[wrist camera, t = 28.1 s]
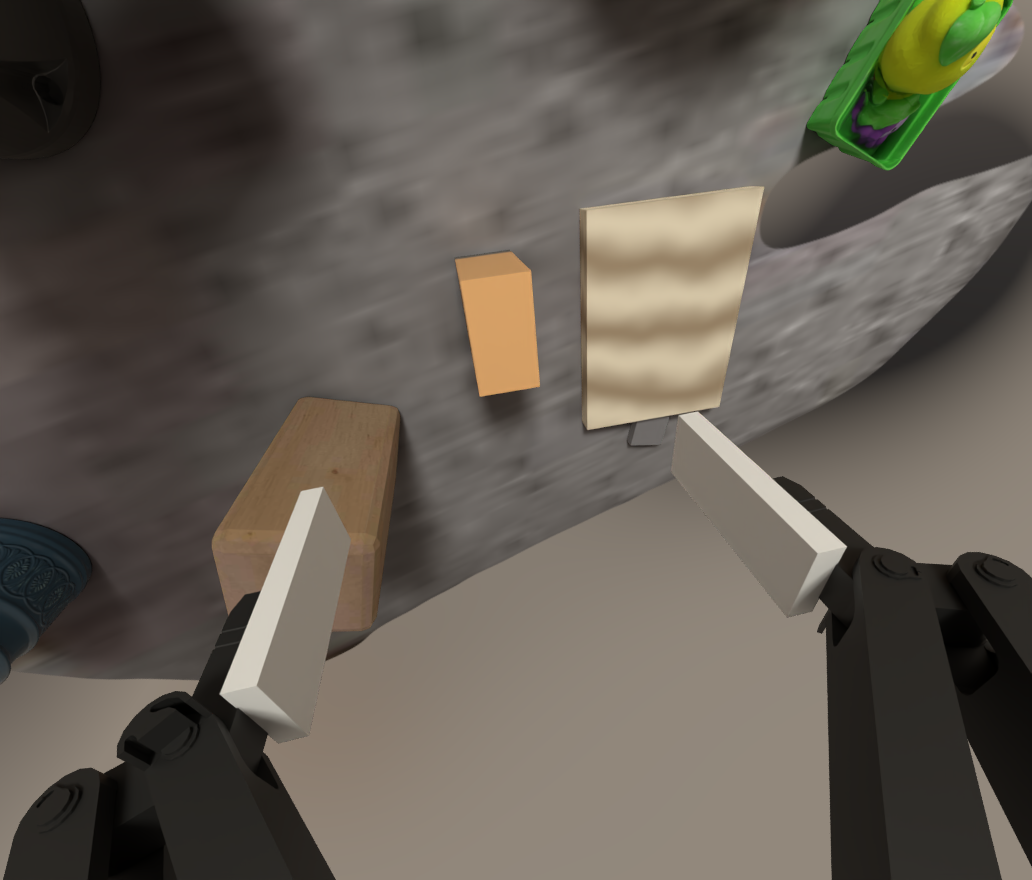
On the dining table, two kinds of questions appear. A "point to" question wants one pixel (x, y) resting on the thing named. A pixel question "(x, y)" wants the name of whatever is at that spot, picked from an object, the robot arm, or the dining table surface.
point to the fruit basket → (902, 74)
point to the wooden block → (347, 481)
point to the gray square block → (648, 431)
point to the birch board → (661, 302)
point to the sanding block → (499, 321)
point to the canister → (34, 584)
